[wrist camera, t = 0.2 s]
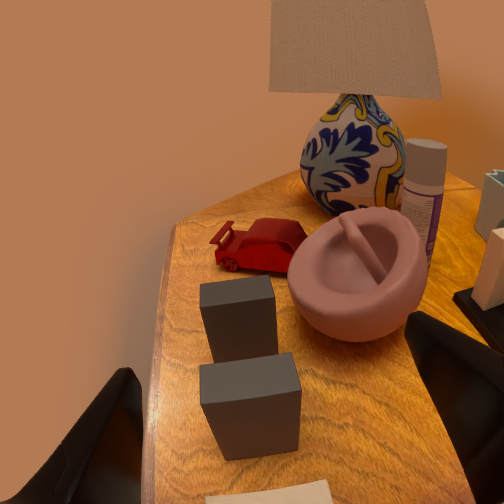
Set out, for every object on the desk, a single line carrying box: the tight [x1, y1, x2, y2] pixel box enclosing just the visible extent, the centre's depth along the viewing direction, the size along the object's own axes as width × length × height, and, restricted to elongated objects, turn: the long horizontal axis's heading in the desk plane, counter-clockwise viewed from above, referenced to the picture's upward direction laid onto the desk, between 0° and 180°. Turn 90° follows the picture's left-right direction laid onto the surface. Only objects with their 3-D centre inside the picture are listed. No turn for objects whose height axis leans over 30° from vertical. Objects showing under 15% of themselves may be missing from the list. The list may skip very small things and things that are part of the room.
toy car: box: [209, 218, 308, 273], centre depth 37 cm, size 14×6×5 cm, turn 72°
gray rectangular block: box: [199, 352, 302, 460], centre depth 17 cm, size 3×5×8 cm, turn 97°
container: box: [400, 139, 447, 270], centre depth 31 cm, size 5×5×15 cm
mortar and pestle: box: [287, 207, 428, 342], centre depth 26 cm, size 12×12×11 cm
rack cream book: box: [471, 228, 504, 311], centre depth 25 cm, size 3×5×8 cm, turn 97°
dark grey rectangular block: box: [200, 275, 278, 363], centre depth 24 cm, size 3×5×8 cm, turn 97°
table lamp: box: [269, 0, 442, 216], centre depth 42 cm, size 27×27×40 cm
